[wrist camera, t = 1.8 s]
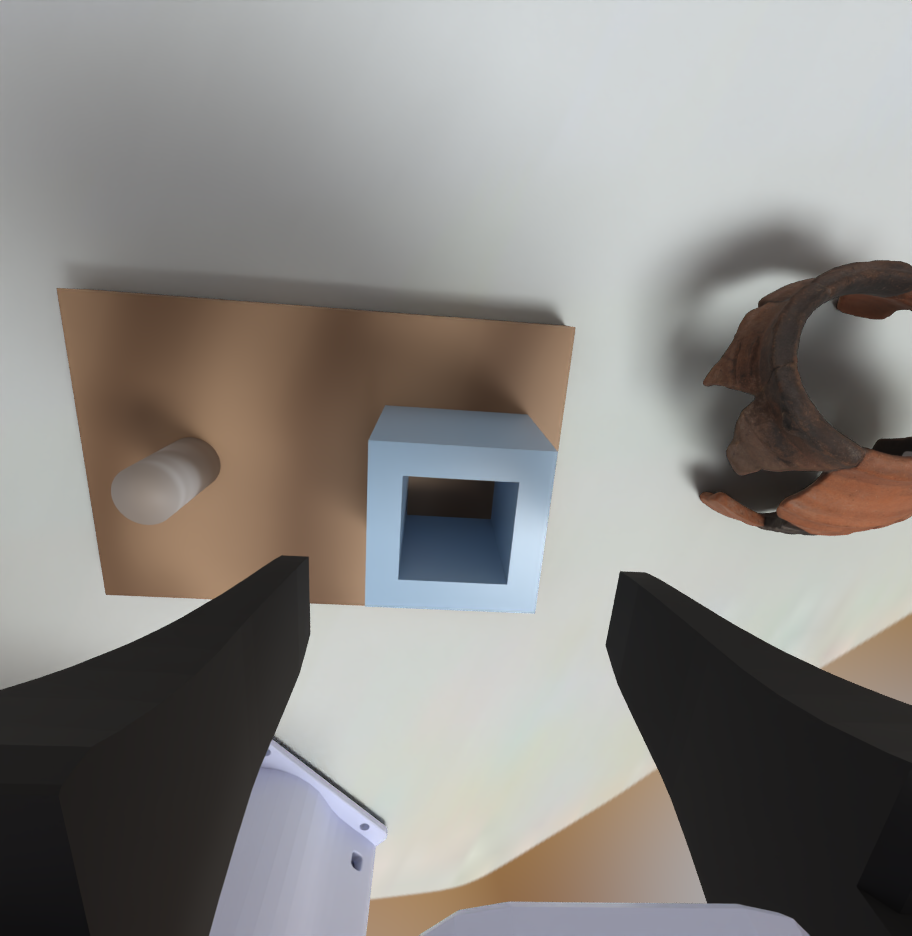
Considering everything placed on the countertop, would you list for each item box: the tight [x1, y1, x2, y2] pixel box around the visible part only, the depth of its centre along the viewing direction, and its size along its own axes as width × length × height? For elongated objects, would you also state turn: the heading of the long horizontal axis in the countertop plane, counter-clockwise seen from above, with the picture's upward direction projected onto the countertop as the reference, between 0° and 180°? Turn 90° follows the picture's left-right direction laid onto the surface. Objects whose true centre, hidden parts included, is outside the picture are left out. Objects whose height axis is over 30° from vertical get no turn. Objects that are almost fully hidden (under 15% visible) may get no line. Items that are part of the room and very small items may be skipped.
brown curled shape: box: [700, 260, 912, 536], centre depth 19 cm, size 12×10×8 cm
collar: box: [365, 405, 558, 613], centre depth 18 cm, size 5×5×5 cm
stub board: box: [57, 288, 575, 610], centre depth 19 cm, size 18×12×5 cm, turn 86°
